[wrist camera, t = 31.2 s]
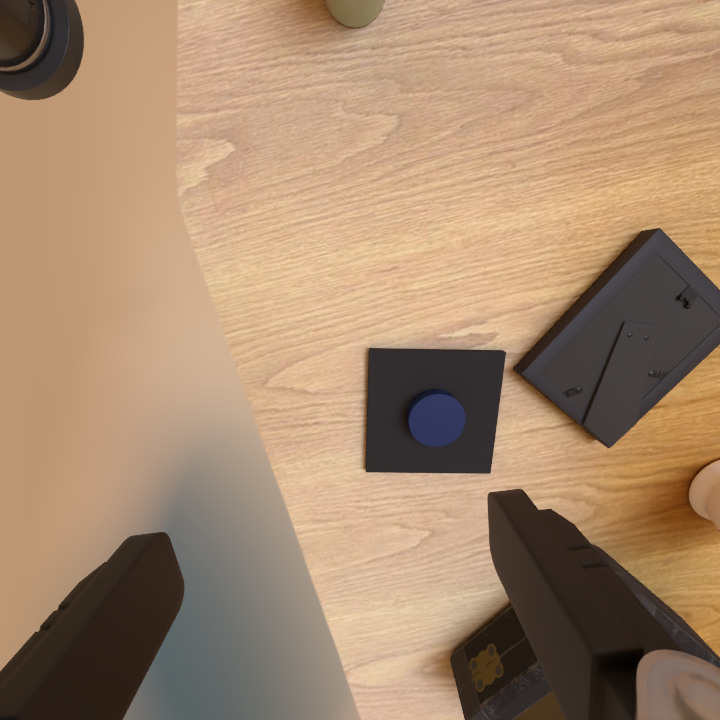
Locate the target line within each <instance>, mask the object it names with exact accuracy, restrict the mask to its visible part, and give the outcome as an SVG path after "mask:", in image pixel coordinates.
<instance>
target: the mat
mask: <svg viewBox="0 0 720 720" xmlns="http://www.w3.org/2000/svg"><path fill="white" fill-rule="evenodd" d="M505 356H506V352H504V351H501V350H442V349H383V348H369V367H368V403H367V440H366V472H396V473H490V472H491V464H492V457H493V449H494V441H495V433H496V425H497V418H498V410H499V402H500V394H501V387H502V379H503V371H504V363H505ZM431 389H440V390H444V391H447V392H449V393H451V394H452V395H453V396H454V397H455V398H456V399H457V401H458V402H459V403H460V404H461V405H462V406H463V409H464V412H465V426H464V429H463V431H462V432H461V434H460V435H459V437H458V438H457V439H455V440H454V441H453V442H451V443H449V444H447V445H444V446H440V447H431V446H427V445H424V444H422V443H420V442H419V441H417V440H416V439H415V438H414V437H413V435H412V433H410V430H409V426H408V423H407V417H406V414H407V409H408V407H409V404H410V403H411V401H412V400H413V399H414V398H415V397H416V396H417V395H418V394H420V393H421V392H424V391H427V390H431Z"/></svg>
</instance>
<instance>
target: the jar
mask: <svg viewBox="0 0 720 720" xmlns="http://www.w3.org/2000/svg"><path fill="white" fill-rule="evenodd" d="M689 501H690V505H691V507H692V508H693V510H694V511H695V512H696V513H697V514H698V515H700V516H701V517H703V518H705V519H708V520H711V521H713V523H714V524H715V526H716V527H717V528H718V530H719V531H720V460H718V461H715V462H713V463H711V464H709V465H708V466H706V467H705V468H704V469H702V470H701V471H700V472H699V473H698V474H697V476H696V477H695V478H694V480H693V482H692V484H691V486H690V490H689Z"/></svg>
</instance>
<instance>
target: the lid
mask: <svg viewBox="0 0 720 720" xmlns="http://www.w3.org/2000/svg"><path fill="white" fill-rule="evenodd" d="M406 417H407V423H408V426H409V430H410V433H412V435H413V437H414V438H415V439H416V440H417V441H419V442H420V443H422V444H424V445H427V446H431V447H440V446H444V445H447V444H449V443H451V442H453V441H454V440H455V439H457V438H458V437H459V435H460V434H461V432H462V431H463V429H464V426H465V412H464V409H463V406H462V405H461V404H460V403H459V402H458V401H457V399H456V398H455V397H454V396H453V395H452V394H451V393H449V392H447V391H444V390H440V389H431V390H427V391H424V392H421V393H420V394H418V395H417V396H416V397H415V398H414V399H413V400H412V401H411V403H410V404H409V407H408V409H407V414H406Z"/></svg>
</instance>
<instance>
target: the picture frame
mask: <svg viewBox="0 0 720 720" xmlns="http://www.w3.org/2000/svg"><path fill="white" fill-rule="evenodd" d="M719 344H720V290H719V289H718V288H717V287H716V286H715V285H714V284H713V283H712V282H711V280H710V279H709V278H708V277H707V276H706V275H705V274H704V273H703V272H702V271H701V270H700V269H699V268H698V267H697V266H696V265H695V264H694V263H693V262H692V261H691V260H690V259H689V258H688V257H687V256H686V255H685V254H684V253H683V252H682V250H681V249H680V248H679V247H678V246H677V245H676V244H675V243H674V242H673V241H672V240H671V239H670V238H669V237H668V236H667V235H666V234H665V233H664V232H663V231H662V230H661V229H660V228H657V229H651V230H645V231H642V232H641V233H640V234H639V235H638V236H637V237H636V238H635V239H634V241H633V242H632V243H631V244H630V245H629V246H628V247H627V248H626V249H625V250H624V251H623V252H622V253H621V254H620V255H619V257H618V258H617V259H616V260H615V261H614V262H613V263H612V264H611V265H610V266H609V267H608V268H607V269H606V270H605V271H604V272H603V274H602V275H601V276H600V277H599V278H598V279H597V280H596V281H595V282H594V283H593V284H592V285H591V286H590V287H589V288H588V290H587V291H586V292H585V293H584V294H583V295H582V296H581V297H580V298H579V299H578V300H577V301H576V302H575V303H574V304H573V305H572V307H571V308H570V309H569V310H568V311H567V312H566V313H565V314H564V315H563V316H562V317H561V318H560V319H559V320H558V321H557V322H556V324H555V325H554V326H553V327H552V328H551V329H550V330H549V331H548V332H547V333H546V334H545V335H544V336H543V337H542V338H541V340H540V341H539V342H538V343H537V344H536V345H535V346H534V347H533V348H532V349H531V350H530V351H529V352H528V353H527V354H526V355H525V357H524V358H523V359H522V360H521V361H520V362H519V363H518V364H517V365H516V366H515V367H514V368H513V369H514V370H515V371H516V372H517V373H518V374H520V375H521V376H522V377H523V378H524V379H525V380H527V381H528V382H529V383H530V384H531V385H533V386H534V387H535V388H536V389H537V390H538V391H540V392H541V393H542V394H543V395H544V396H545V397H547V398H548V399H549V400H550V401H551V402H553V403H554V404H555V405H556V406H557V407H558V408H560V409H561V410H562V411H563V412H564V413H565V414H567V415H568V416H569V417H570V418H571V419H573V420H574V421H575V422H576V423H577V424H578V425H580V426H581V427H582V428H583V429H584V430H585V431H587V432H588V433H589V434H590V435H591V436H592V437H594V438H595V439H596V440H597V441H599V442H600V443H602V444H603V445H605V446H606V447H608V448H610V447H612V446H613V445H614V444H615V443H616V442H617V441H618V440H619V439H620V438H621V437H622V436H623V435H625V434H626V433H627V432H628V431H629V430H630V429H631V428H632V427H633V426H634V425H635V424H636V423H637V422H638V421H639V420H640V419H641V418H642V417H643V416H644V415H645V414H646V413H647V412H648V411H649V410H650V409H651V408H653V407H654V406H655V405H656V404H657V403H658V402H659V401H660V400H661V399H662V398H663V397H664V396H665V395H666V394H667V393H668V392H670V391H671V390H672V389H673V388H674V387H675V386H676V385H677V384H678V383H679V382H680V381H681V380H682V379H683V378H684V377H685V376H687V375H688V374H689V373H690V372H691V371H692V370H693V369H694V368H695V367H696V366H697V365H698V364H699V363H700V362H701V361H702V360H704V359H705V358H706V357H707V356H708V355H709V354H710V353H711V352H712V351H713V350H714V349H715V348H716V347H717V346H718V345H719Z"/></svg>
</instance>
